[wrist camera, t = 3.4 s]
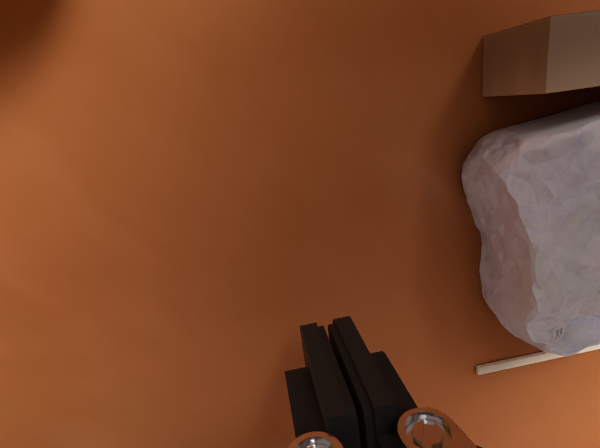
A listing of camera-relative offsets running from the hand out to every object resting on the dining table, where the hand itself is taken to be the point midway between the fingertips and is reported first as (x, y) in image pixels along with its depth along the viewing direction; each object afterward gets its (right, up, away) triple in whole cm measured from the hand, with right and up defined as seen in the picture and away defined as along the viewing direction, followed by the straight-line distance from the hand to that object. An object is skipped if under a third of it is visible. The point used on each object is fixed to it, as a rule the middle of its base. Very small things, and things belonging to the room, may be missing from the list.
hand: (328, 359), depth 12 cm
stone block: (+12, +5, +4) cm, 13 cm away
